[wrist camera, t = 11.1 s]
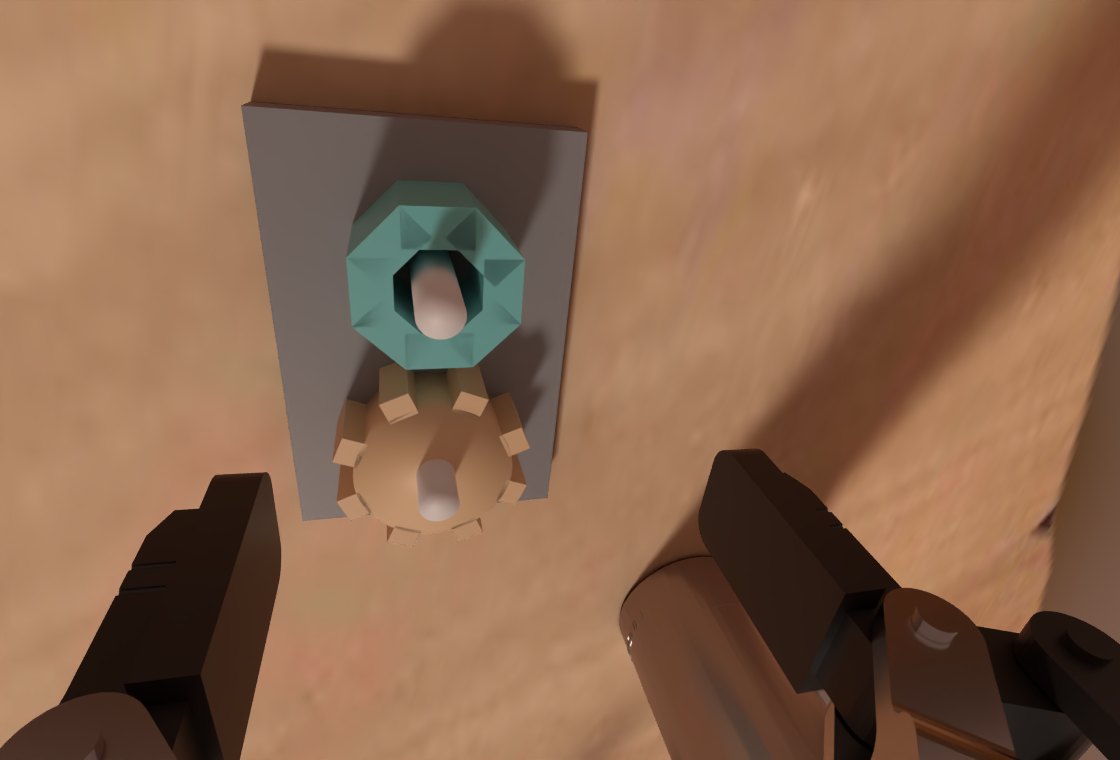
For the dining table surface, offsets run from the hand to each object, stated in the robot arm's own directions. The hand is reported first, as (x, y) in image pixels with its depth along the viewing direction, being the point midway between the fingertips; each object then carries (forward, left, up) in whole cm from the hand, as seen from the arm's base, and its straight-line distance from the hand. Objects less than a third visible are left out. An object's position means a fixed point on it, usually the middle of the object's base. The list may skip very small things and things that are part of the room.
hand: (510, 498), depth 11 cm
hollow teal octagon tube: (0, 0, -15) cm, 15 cm away
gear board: (+1, +4, -17) cm, 17 cm away
